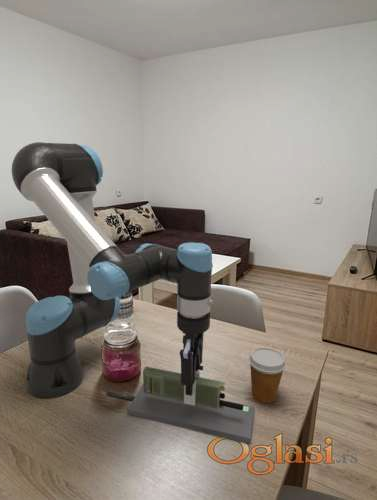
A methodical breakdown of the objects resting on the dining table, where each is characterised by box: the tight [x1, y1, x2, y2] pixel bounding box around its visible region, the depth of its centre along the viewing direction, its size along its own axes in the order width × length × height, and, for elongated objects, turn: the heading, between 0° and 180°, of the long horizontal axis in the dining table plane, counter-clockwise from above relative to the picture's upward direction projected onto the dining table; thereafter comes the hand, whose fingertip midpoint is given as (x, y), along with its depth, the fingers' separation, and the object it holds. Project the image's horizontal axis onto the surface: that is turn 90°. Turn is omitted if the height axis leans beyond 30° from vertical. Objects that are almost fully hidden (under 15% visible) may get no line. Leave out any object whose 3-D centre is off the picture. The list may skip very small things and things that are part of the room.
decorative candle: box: [114, 290, 134, 321], centre depth 128 cm, size 9×9×25 cm
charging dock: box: [106, 383, 255, 444], centre depth 83 cm, size 38×10×2 cm, turn 74°
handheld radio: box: [142, 366, 244, 410], centre depth 80 cm, size 7×3×25 cm
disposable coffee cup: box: [248, 346, 287, 404], centre depth 87 cm, size 10×10×12 cm
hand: (191, 398), depth 81 cm, fingers closed on handheld radio, 3 cm apart
